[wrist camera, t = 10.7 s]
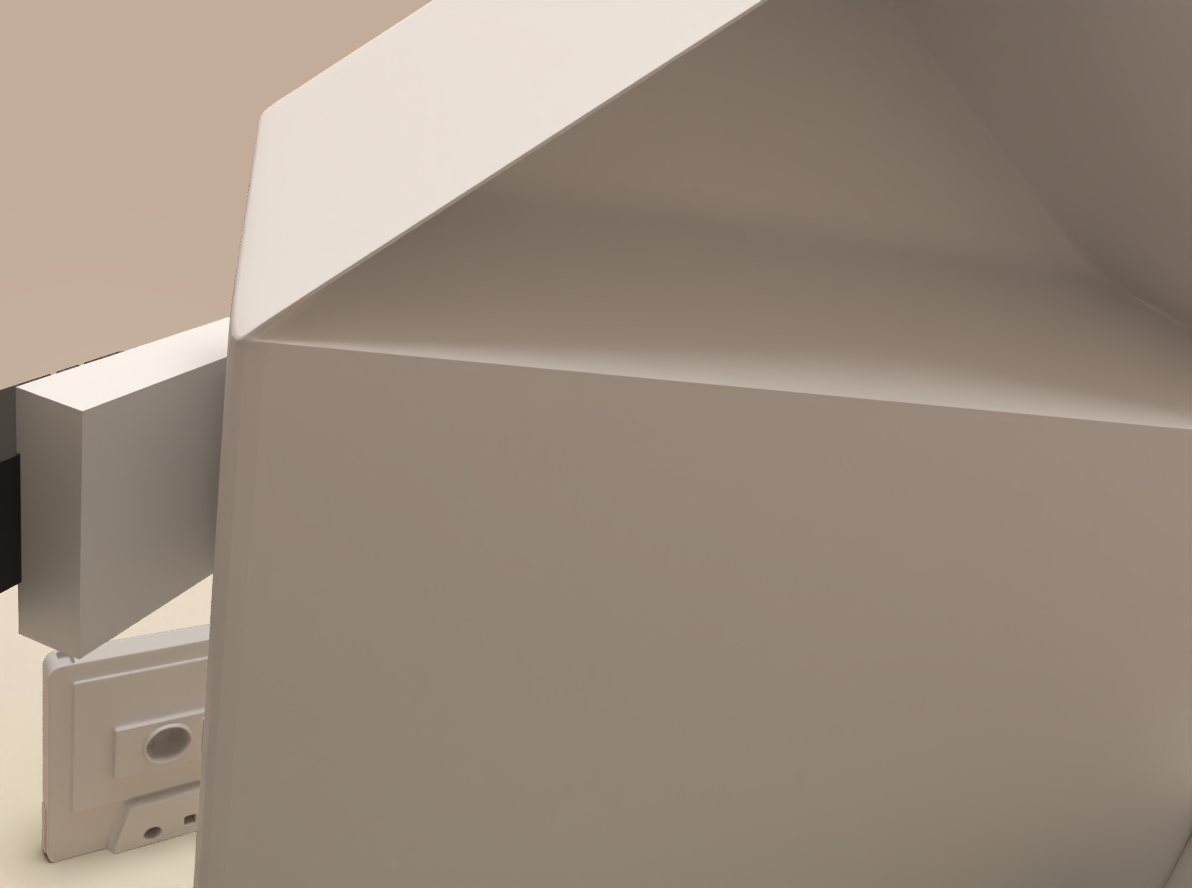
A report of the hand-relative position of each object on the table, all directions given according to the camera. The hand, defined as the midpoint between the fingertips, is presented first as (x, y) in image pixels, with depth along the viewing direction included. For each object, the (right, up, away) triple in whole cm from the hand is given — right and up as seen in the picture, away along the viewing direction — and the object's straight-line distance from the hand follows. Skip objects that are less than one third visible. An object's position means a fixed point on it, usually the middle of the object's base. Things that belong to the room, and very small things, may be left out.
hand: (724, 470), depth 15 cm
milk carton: (-4, -12, 0) cm, 12 cm away
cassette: (-15, -13, +23) cm, 30 cm away
